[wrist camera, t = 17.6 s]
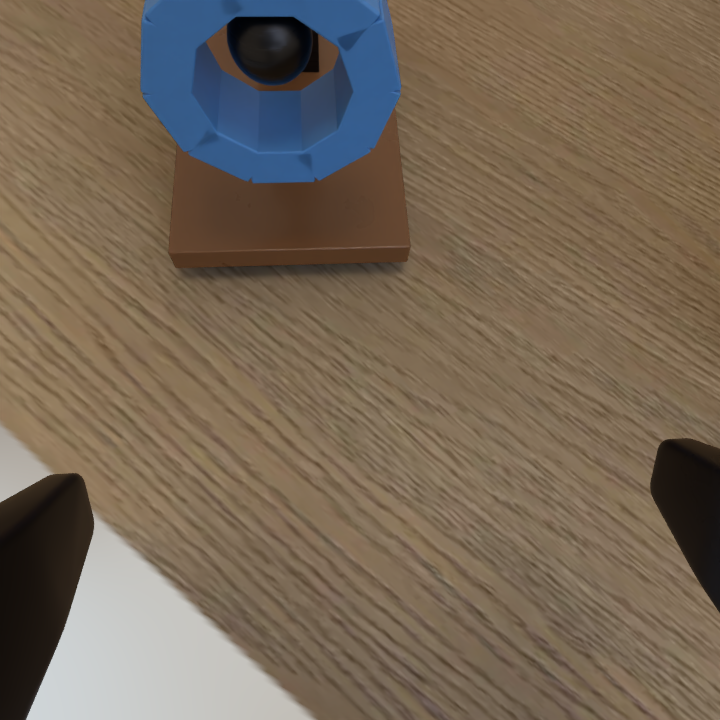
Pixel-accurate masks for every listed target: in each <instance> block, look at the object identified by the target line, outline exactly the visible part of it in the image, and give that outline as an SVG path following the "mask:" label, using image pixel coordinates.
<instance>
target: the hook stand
mask: <svg viewBox="0 0 720 720" xmlns="http://www.w3.org/2000/svg"><path fill="white" fill-rule="evenodd" d="M206 43H207V45H208V47H209V48H210V50H211V52H212V54H213V55H214V57H215V59H216V61H217V63H218V64H219V66H220V68H221V70H223V71H225V72H226V73H228V74H230V75H232V76H233V77H235V78H237V79H239V80H240V81H242V82H244V83H246V84H247V85H249V86H251V87H253V88H255V89H256V90H258V91H301V90H302V89H304V88H305V87H307V86H308V85H310V84H311V83H313V82H314V81H316V80H317V79H319V78H320V77H322V76H323V75H325V74H326V73H327V72H329V71H330V70H332V69H333V68H334V66H335V63H336V60H337V57H338V54H339V50H338V47H337V46H335V45H334V44H332V43H331V42H329V41H328V40H327V39H325V38H324V37H322V36H321V35H319V34H318V33H316V32H315V31H313V30H312V29H310V28H309V27H308V26H306V25H305V24H303V23H302V22H300V21H299V20H297V19H296V18H294V17H235V18H234V19H233V20H231V21H230V22H229V23H228V24H226V25H225V26H224V27H223V28H221V29H220V30H219V31H218V32H217V33H215V34H214V35H213V36H212V37H210V38H209V39H208V40H207V41H206ZM370 149H371V152H370V153H368V154H366V155H365V156H363V157H361V158H359V159H357V160H356V161H354V162H352V163H350V164H349V165H347V166H345V167H343V168H341V169H340V170H338V171H336V172H334V173H333V174H331V175H329V176H327V177H325V178H324V179H322V180H320V181H319V180H317V179H316V178H315V181H314V182H296V183H252V180H251V179H250V180H249V181H248V182H247V181H244V180H242V179H240V178H238V177H235V176H233V175H231V174H229V173H227V172H224V171H222V170H220V169H218V168H216V167H214V166H211V165H209V164H207V163H205V162H203V161H200V160H198V159H196V158H194V157H192V156H190V155H189V154H188V151H187V152H183V150H182V149H181V148H180V146H179V145H178V144H177V150H176V163H175V175H174V188H173V200H172V213H171V225H170V238H169V250H168V253H169V255H170V257H171V259H172V261H173V263H174V265H175V267H176V268H193V267H230V266H267V265H304V264H341V263H378V262H406V261H407V260H408V255H409V251H410V247H411V245H410V237H409V228H408V219H407V210H406V201H405V192H404V183H403V174H402V165H401V156H400V147H399V138H398V129H397V120H396V111H395V107H394V109H393V111H392V113H391V115H390V117H389V119H388V121H387V123H386V125H385V127H384V129H383V131H382V134H381V136H380V138H379V140H378V142H377V144H376V146H375V148H374V149H372V148H370Z"/></svg>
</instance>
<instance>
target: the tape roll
mask: <svg viewBox="0 0 720 720" xmlns="http://www.w3.org/2000/svg"><path fill="white" fill-rule="evenodd" d="M235 17H294V18H296V19H297V20H299V21H300V22H302V23H303V24H305V25H306V26H308V27H309V28H310V29H312V30H313V31H315V32H316V33H318V34H319V35H321V36H322V37H324V38H325V39H327V40H328V41H329V42H331V43H332V44H334V45H335V46H337V47H338V50H339V54H338V57H337V60H336V63H335V66H334V68H333V69H332V70H330V71H329V72H327V73H326V74H325V75H323V76H322V77H320V78H319V79H317V80H316V81H314V82H313V83H311V84H310V85H308V86H307V87H305V88H304V89H302V90H301V91H258V90H256V89H255V88H253V87H251V86H249V85H247V84H246V83H244V82H242V81H240V80H239V79H237V78H235V77H233V76H232V75H230V74H228V73H226V72H225V71H223V70H221V68H220V66H219V64H218V63H217V61H216V59H215V57H214V55H213V54H212V52H211V50H210V48H209V47H208V45H207V43H206V41H207V40H208V39H209V38H210V37H212V36H213V35H214V34H215V33H217V32H218V31H219V30H220V29H221V28H223V27H224V26H225V25H226V24H228V23H229V22H230V21H231V20H233V19H234V18H235ZM140 89H141V92H143V98H144V100H145V101H146V102H147V104H148V105H149V106H150V108H151V109H152V110H153V112H154V113H155V114H156V116H157V117H158V118H159V120H160V121H161V122H162V124H163V125H164V126H165V128H166V129H167V130H168V132H169V133H170V134H171V136H172V137H173V138H174V140H175V141H176V142H177V144H178V145H179V146H180V148H181V149H182V150H183V152H187V151H188V154H189V155H190V156H192V157H194V158H196V159H198V160H200V161H203V162H205V163H207V164H209V165H211V166H214V167H216V168H218V169H220V170H222V171H224V172H227V173H229V174H231V175H233V176H235V177H238V178H240V179H242V180H244V181H247V182H248V181H249V180H250V179H251V180H252V183H296V182H314V181H315V178H316V179H317V180H319V181H320V180H322V179H324V178H325V177H327V176H329V175H331V174H333V173H334V172H336V171H338V170H340V169H341V168H343V167H345V166H347V165H349V164H350V163H352V162H354V161H356V160H357V159H359V158H361V157H363V156H365V155H366V154H368V153H370V152H371V149H370V148H372V149H374V148H375V146H376V144H377V142H378V140H379V138H380V136H381V134H382V131H383V129H384V127H385V125H386V123H387V121H388V119H389V117H390V115H391V113H392V111H393V109H394V107H395V105H396V103H397V101H398V99H399V97H400V95H401V93H400V89H401V81H400V74H399V67H398V61H397V54H396V47H395V40H394V33H393V26H392V21H391V17H390V13H389V8H388V4H387V0H145V4H144V10H143V15H142V22H141V85H140Z"/></svg>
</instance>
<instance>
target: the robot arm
mask: <svg viewBox="0 0 720 720" xmlns="http://www.w3.org/2000/svg"><path fill="white" fill-rule="evenodd" d="M650 489H651V494H652V497H653V499H654V501H655V503H656V505H657V507H658V509H659V510H660V512H661V514H662V516H663V518H664V519H665V521H666V523H667V525H668V527H669V529H670V530H671V532H672V534H673V536H674V538H675V540H676V541H677V543H678V545H679V547H680V549H681V551H682V552H683V554H684V556H685V558H686V560H687V562H688V563H689V565H690V567H691V569H692V570H693V572H694V574H695V576H696V577H697V579H698V581H699V582H700V584H701V585H702V587H703V589H704V590H705V592H706V593H707V595H708V596H709V598H710V599H711V601H712V602H713V604H714V605H715V607H716V608H717V610H718V611H719V612H720V449H719V448H716V447H713V446H710V445H707V444H705V443H702V442H699V441H696V440H693V439H689V438H682V439H667V440H665V441H663V442H662V443H661V444H660V445H659V448H658V451H657V456H656V460H655V464H654V469H653V473H652V478H651V483H650ZM93 530H94V518H93V514H92V510H91V506H90V502H89V498H88V494H87V489H86V485H85V482H84V480H83V478H82V476H80V475H79V474H77V473H69V474H53V475H49V476H47V477H46V478H43V479H42V480H40V481H38V482H36V483H35V484H33V485H31V486H29V487H27V488H26V489H24V490H22V491H20V492H18V493H17V494H15V495H13V496H11V497H9V498H8V499H6V500H4V501H2V502H1V503H0V720H26V718H27V715H28V713H29V711H30V709H31V706H32V704H33V702H34V699H35V697H36V695H37V692H38V690H39V687H40V685H41V683H42V680H43V678H44V676H45V673H46V671H47V669H48V666H49V664H50V662H51V659H52V657H53V655H54V652H55V650H56V647H57V645H58V643H59V640H60V637H61V635H62V632H63V630H64V627H65V624H66V621H67V618H68V615H69V612H70V609H71V605H72V602H73V599H74V595H75V592H76V588H77V585H78V582H79V579H80V575H81V572H82V569H83V565H84V562H85V559H86V555H87V552H88V549H89V545H90V542H91V539H92V535H93Z"/></svg>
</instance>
